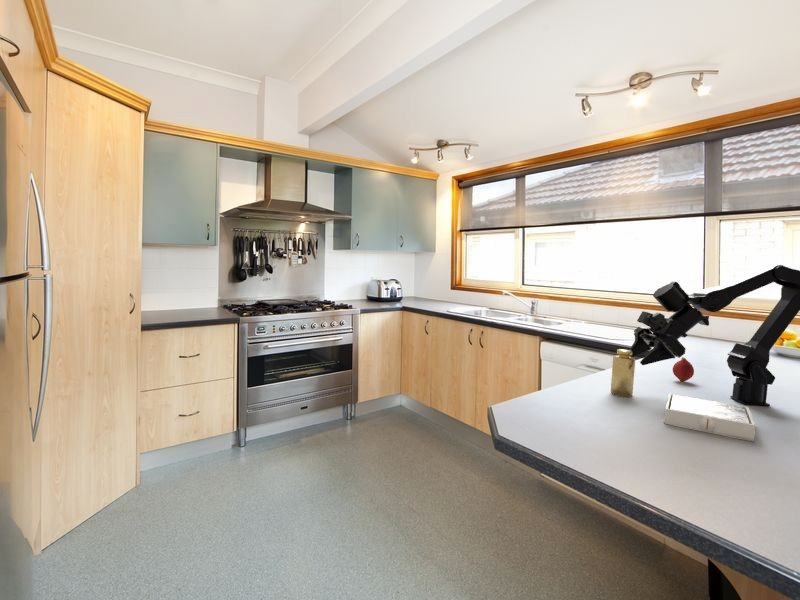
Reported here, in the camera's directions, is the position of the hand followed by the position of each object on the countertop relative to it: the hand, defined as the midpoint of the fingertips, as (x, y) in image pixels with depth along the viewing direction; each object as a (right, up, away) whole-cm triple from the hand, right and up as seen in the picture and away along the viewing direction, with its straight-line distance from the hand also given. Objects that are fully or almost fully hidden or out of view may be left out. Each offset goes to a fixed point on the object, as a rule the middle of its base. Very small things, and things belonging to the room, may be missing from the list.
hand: (633, 360), depth 121 cm
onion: (+26, -10, +19) cm, 33 cm away
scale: (+6, -12, -21) cm, 24 cm away
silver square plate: (+6, -9, -21) cm, 23 cm away
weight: (-3, -10, +1) cm, 10 cm away
